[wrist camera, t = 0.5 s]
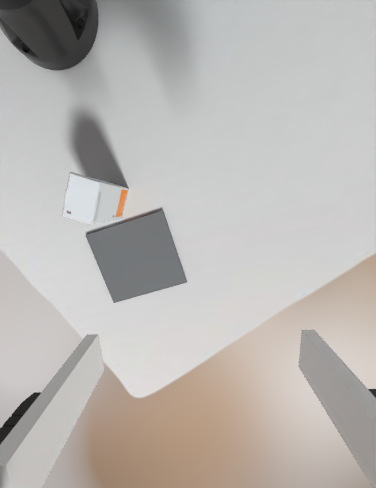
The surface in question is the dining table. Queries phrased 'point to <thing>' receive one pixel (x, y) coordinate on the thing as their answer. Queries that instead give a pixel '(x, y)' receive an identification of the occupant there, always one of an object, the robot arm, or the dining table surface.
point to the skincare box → (93, 200)
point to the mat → (137, 257)
